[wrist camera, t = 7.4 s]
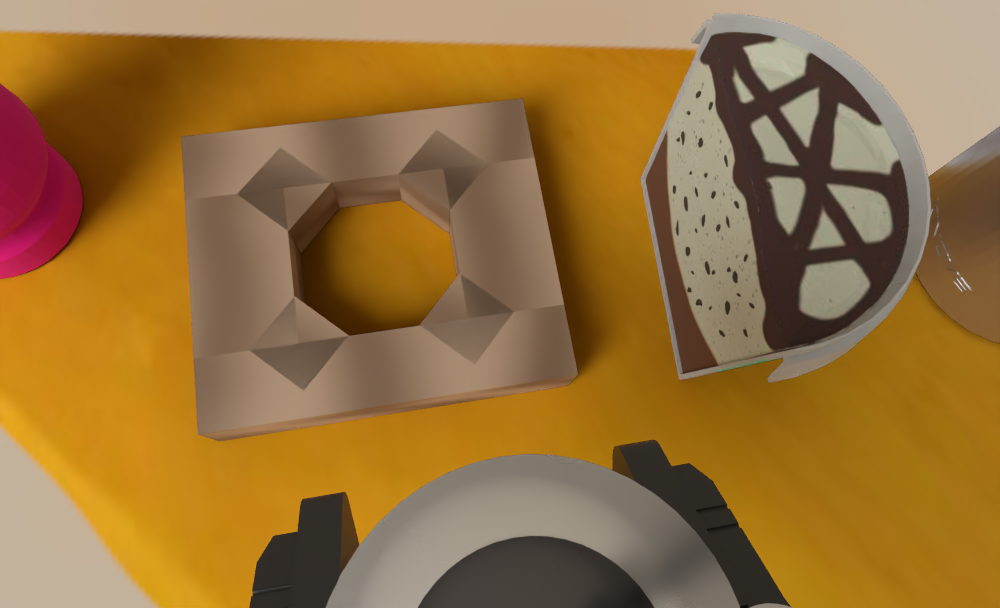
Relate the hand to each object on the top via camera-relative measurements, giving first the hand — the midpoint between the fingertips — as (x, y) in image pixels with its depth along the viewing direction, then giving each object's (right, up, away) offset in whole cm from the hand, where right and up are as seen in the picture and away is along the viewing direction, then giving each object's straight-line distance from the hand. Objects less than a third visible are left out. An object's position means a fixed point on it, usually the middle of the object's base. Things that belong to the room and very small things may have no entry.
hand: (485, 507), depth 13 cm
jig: (-5, +5, +18) cm, 19 cm away
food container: (+10, +5, +19) cm, 22 cm away
